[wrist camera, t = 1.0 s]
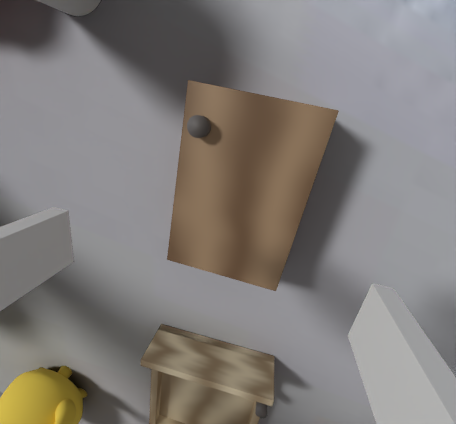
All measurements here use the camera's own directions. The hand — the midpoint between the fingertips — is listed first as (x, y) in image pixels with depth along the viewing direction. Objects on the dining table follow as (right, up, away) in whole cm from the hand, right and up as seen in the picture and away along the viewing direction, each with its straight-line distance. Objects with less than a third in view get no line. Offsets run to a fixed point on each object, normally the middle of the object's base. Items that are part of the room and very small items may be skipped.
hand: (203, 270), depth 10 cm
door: (+3, +5, +14) cm, 16 cm away
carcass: (-2, -24, +26) cm, 35 cm away
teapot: (-29, -30, +34) cm, 53 cm away
